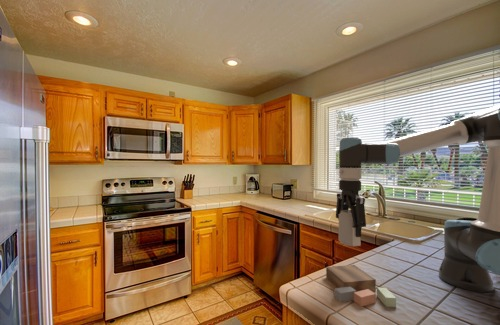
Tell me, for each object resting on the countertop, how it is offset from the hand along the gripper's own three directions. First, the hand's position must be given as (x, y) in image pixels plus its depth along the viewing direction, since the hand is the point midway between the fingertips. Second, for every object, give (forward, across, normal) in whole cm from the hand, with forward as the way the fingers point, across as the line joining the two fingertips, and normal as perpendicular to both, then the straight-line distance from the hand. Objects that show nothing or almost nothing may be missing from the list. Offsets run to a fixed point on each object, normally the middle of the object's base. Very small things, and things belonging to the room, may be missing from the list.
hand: (349, 241), depth 86 cm
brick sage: (+16, +12, +5) cm, 20 cm away
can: (+1, 0, 0) cm, 1 cm away
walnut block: (+15, 0, 0) cm, 15 cm away
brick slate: (+16, +8, -7) cm, 19 cm away
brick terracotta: (+16, +11, -2) cm, 19 cm away
